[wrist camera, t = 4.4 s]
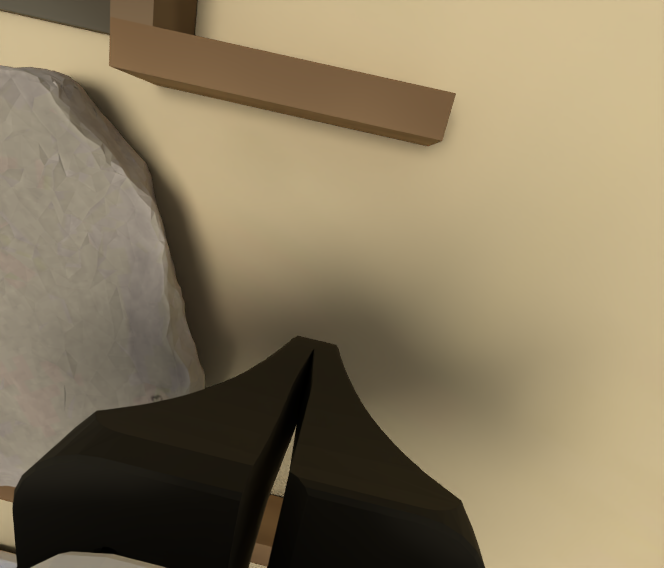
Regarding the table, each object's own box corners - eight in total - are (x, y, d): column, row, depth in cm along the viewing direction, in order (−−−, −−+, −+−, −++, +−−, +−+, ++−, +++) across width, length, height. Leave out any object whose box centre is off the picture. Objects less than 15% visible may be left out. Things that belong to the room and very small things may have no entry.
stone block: (124, 62, 12) (-156, 169, 12) (24, -12, 8) (-430, 160, 7) (265, 357, 16) (48, 442, 16) (255, 429, 11) (-55, 551, 11)
